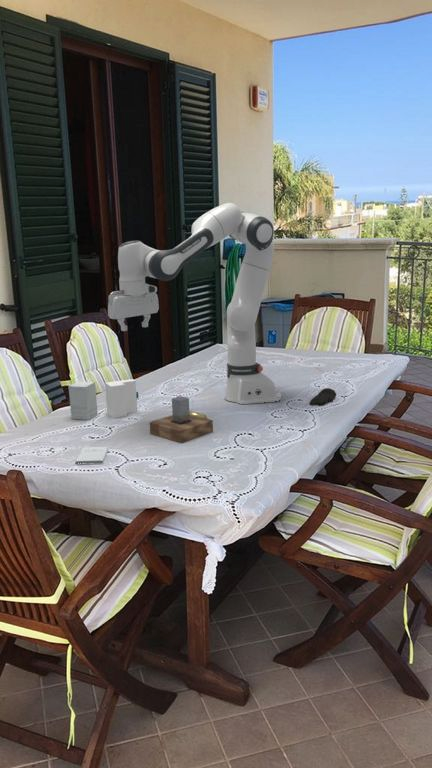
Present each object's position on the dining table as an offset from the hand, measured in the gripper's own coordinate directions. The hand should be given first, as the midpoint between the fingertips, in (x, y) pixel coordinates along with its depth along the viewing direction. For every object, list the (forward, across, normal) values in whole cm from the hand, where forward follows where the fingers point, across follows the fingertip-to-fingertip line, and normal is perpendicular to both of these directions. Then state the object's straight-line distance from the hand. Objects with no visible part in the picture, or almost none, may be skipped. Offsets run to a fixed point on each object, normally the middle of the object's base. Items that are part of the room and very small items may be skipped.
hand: (134, 328), depth 229 cm
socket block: (+33, -1, -23) cm, 40 cm away
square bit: (+33, -1, -23) cm, 40 cm away
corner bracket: (+33, +2, +13) cm, 36 cm away
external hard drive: (+34, -34, -18) cm, 52 cm away
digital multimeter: (+34, +13, +23) cm, 43 cm away
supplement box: (+33, -11, +19) cm, 40 cm away
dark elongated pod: (+34, +64, -36) cm, 81 cm away
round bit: (+33, +11, -17) cm, 39 cm away
